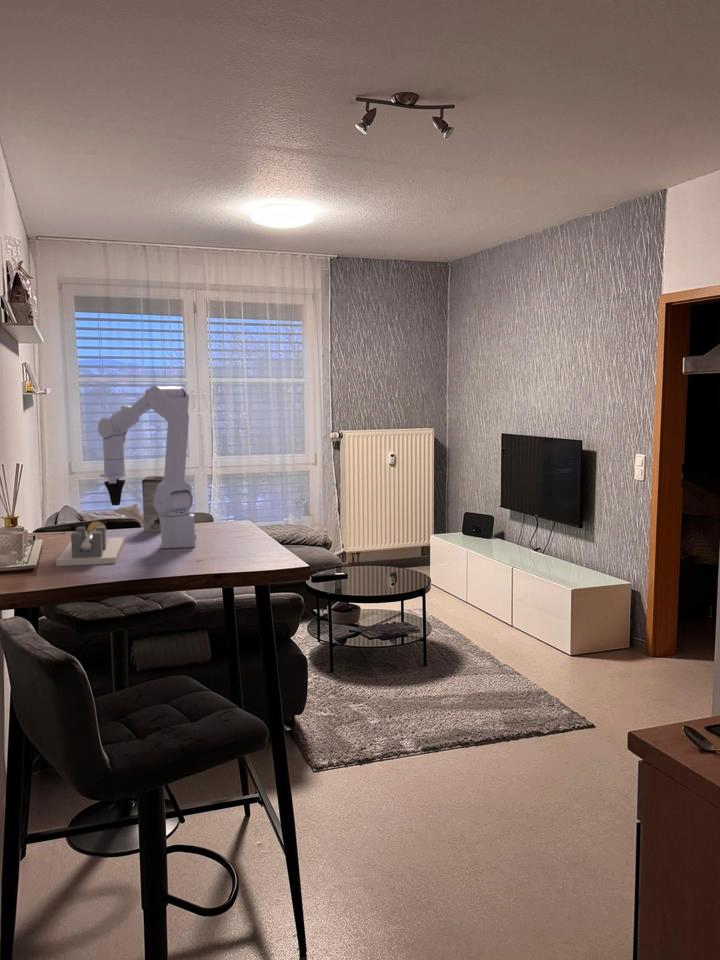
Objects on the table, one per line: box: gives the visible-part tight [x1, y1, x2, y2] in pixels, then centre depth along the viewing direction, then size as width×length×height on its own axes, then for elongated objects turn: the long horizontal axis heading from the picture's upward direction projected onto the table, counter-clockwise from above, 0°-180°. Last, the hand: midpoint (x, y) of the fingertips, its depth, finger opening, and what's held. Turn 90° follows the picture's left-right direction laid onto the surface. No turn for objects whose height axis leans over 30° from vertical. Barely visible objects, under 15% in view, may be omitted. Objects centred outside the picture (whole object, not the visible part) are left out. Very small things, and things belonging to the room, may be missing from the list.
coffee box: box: [141, 475, 164, 533], centre depth 240 cm, size 9×6×16 cm
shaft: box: [80, 520, 107, 552], centre depth 203 cm, size 5×23×5 cm, turn 12°
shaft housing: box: [55, 525, 126, 567], centre depth 205 cm, size 14×27×8 cm, turn 12°
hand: (115, 505), depth 228 cm, fingers closed
